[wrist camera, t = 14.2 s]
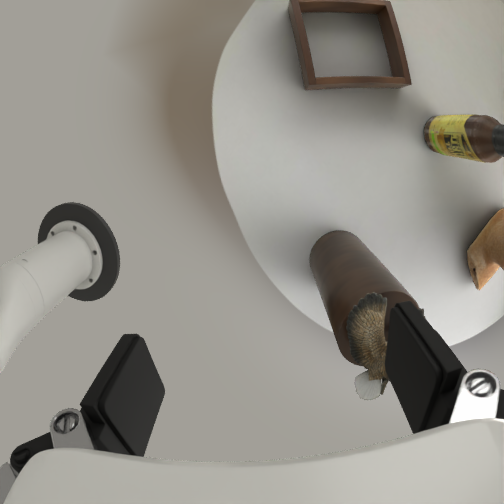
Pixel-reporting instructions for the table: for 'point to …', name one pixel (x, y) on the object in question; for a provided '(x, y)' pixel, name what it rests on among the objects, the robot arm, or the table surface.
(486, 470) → the robot arm
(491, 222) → the tan boot-shaped piece
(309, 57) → the crate
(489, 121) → the sauce bottle
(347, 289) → the stand
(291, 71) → the table surface
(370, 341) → the eagle figurine
